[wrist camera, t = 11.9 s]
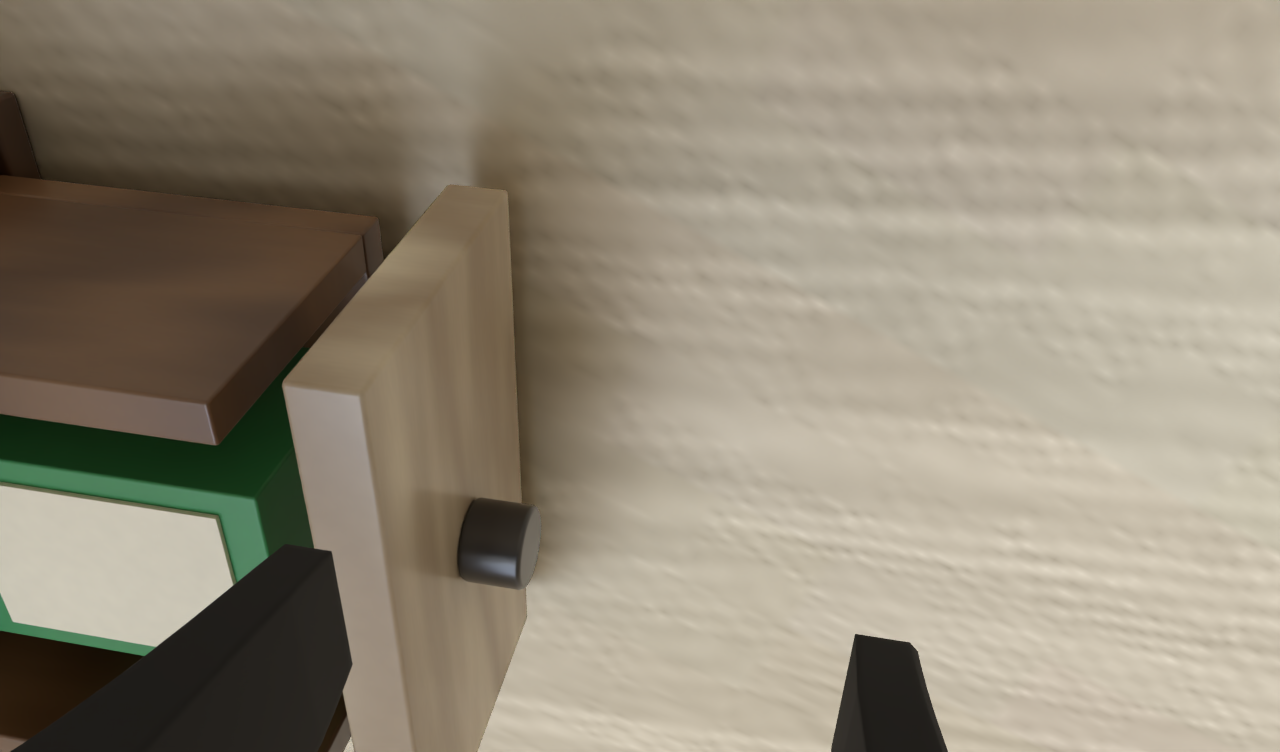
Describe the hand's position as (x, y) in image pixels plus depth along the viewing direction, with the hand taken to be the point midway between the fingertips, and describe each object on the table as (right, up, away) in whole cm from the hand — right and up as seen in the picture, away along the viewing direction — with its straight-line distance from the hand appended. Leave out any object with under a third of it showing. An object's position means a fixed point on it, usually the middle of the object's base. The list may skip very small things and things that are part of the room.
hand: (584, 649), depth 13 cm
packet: (-8, +2, +10) cm, 13 cm away
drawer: (-7, +3, +11) cm, 13 cm away
